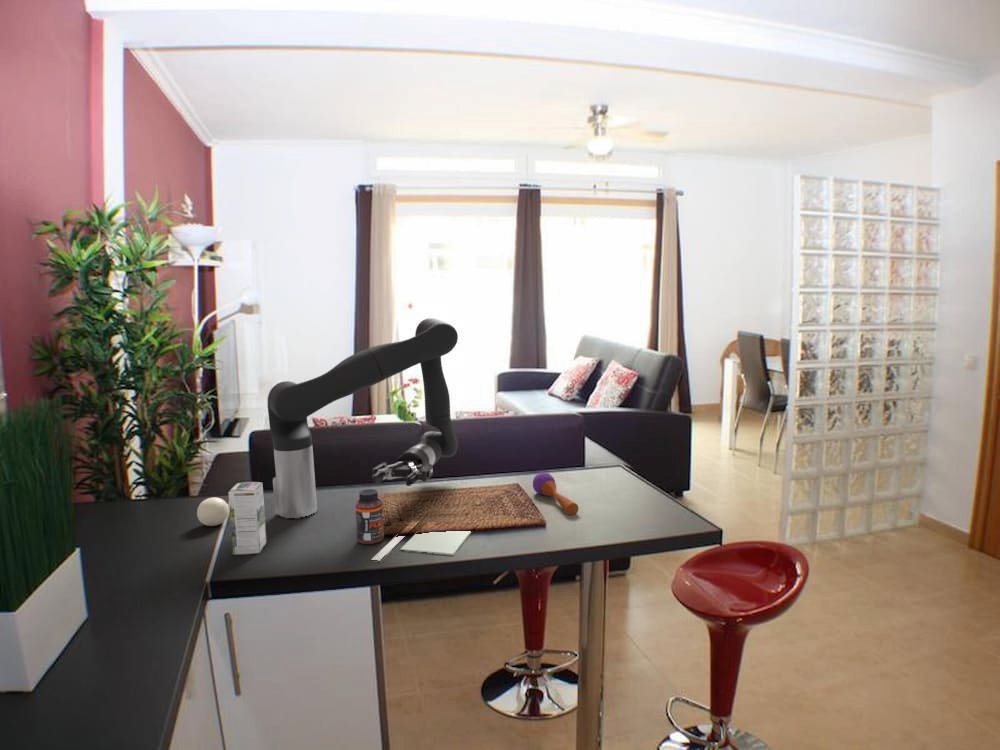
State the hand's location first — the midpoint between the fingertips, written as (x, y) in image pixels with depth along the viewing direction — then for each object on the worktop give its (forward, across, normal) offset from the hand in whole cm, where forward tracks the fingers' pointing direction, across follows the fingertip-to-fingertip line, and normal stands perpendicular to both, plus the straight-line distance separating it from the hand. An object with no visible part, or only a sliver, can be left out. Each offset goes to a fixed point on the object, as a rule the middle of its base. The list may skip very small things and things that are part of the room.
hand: (390, 481), depth 157 cm
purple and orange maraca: (-20, +36, +11) cm, 43 cm away
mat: (+8, +15, +10) cm, 19 cm away
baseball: (+11, -42, +10) cm, 45 cm away
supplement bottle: (+12, 0, +10) cm, 15 cm away
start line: (+10, +6, +10) cm, 15 cm away
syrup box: (+22, -24, +10) cm, 34 cm away
